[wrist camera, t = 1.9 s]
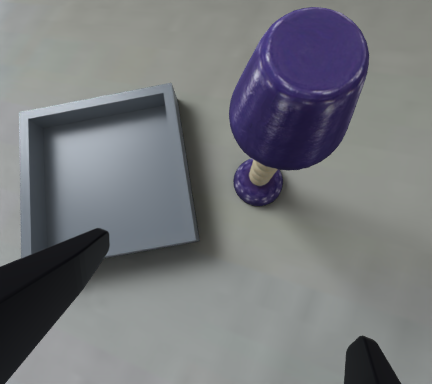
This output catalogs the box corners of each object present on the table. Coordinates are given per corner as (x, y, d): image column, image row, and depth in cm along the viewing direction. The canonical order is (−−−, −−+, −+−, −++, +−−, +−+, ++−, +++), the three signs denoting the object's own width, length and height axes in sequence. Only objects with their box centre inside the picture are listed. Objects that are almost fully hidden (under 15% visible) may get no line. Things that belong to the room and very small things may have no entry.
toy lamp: (293, 200, 23) (446, 80, 7) (244, 222, 23) (274, 154, 6) (269, 151, 24) (348, -55, 8) (221, 172, 24) (198, 7, 8)
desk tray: (43, 269, 23) (21, 271, 20) (39, 125, 26) (18, 112, 23) (199, 241, 23) (195, 240, 20) (177, 98, 26) (171, 82, 23)
